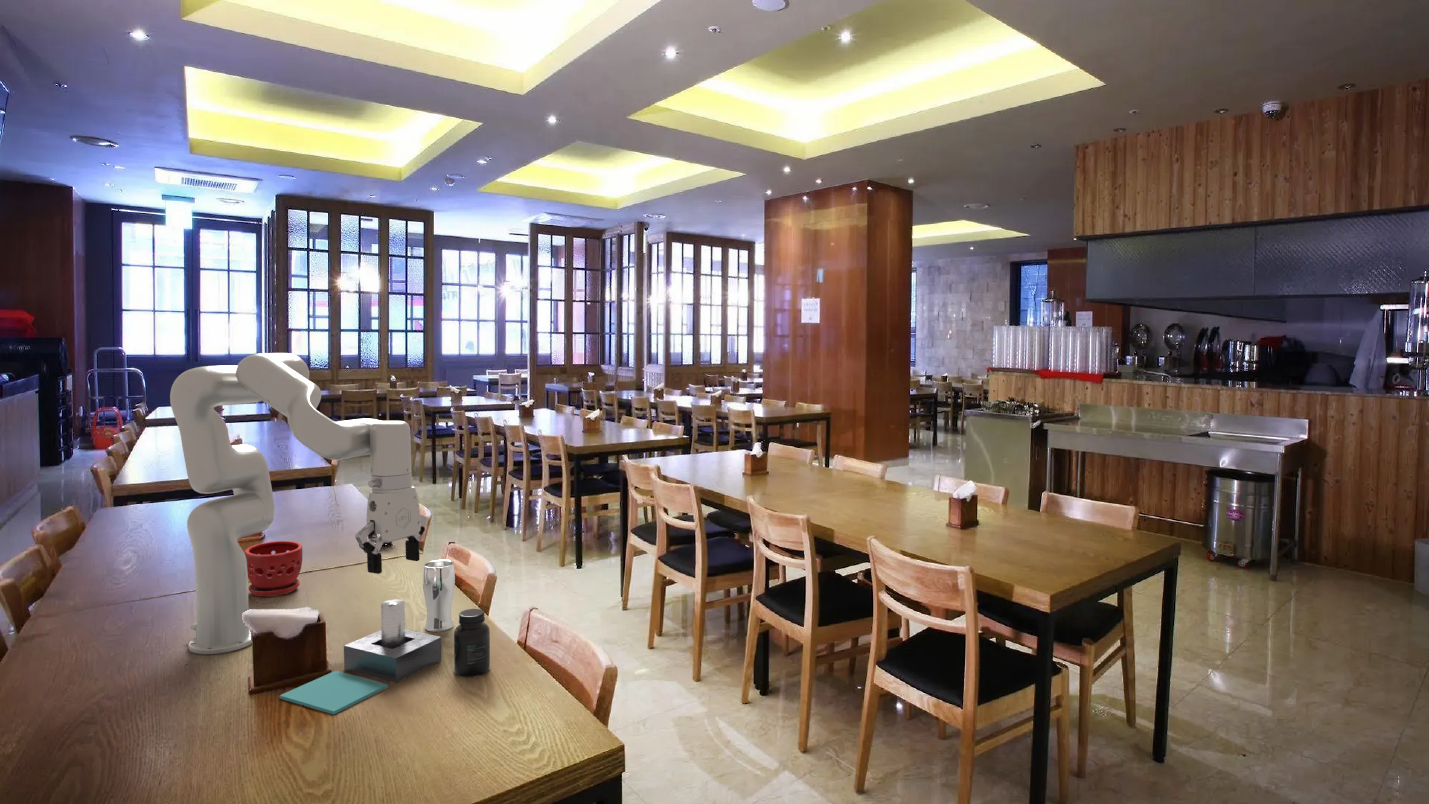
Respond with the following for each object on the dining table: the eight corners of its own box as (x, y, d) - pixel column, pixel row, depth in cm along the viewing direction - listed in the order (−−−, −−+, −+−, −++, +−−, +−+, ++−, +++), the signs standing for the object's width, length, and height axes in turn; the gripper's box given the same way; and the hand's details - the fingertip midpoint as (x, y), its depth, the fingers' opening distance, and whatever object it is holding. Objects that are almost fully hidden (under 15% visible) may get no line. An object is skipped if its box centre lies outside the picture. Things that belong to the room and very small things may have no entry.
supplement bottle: (452, 666, 157) (452, 609, 156) (487, 661, 159) (487, 605, 158) (455, 680, 150) (455, 620, 149) (491, 674, 153) (491, 616, 152)
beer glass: (444, 634, 174) (444, 569, 173) (417, 631, 175) (416, 566, 174) (460, 623, 181) (460, 560, 179) (434, 620, 182) (433, 558, 181)
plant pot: (233, 595, 197) (232, 550, 196) (279, 581, 209) (278, 538, 208) (269, 603, 192) (268, 556, 191) (314, 588, 204) (313, 543, 203)
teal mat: (279, 698, 141) (279, 695, 141) (335, 673, 152) (335, 670, 152) (333, 714, 136) (333, 711, 136) (387, 687, 147) (387, 684, 147)
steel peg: (377, 667, 156) (376, 604, 155) (394, 659, 160) (393, 598, 159) (393, 671, 154) (392, 607, 153) (410, 663, 158) (409, 601, 157)
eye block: (344, 669, 154) (343, 645, 154) (391, 648, 165) (391, 625, 165) (396, 683, 148) (395, 658, 148) (441, 660, 159) (441, 637, 159)
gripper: (370, 491, 145) (373, 580, 146) (437, 477, 160) (439, 557, 161) (341, 488, 148) (344, 575, 149) (410, 474, 163) (413, 553, 165)
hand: (394, 566), depth 155 cm, fingers open, 9 cm apart
